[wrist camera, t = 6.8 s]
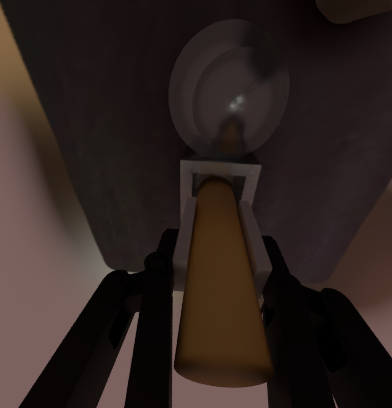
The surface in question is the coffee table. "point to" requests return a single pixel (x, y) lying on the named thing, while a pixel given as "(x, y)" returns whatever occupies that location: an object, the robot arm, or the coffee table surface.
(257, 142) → the rosette bracket
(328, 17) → the flower pot
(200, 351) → the tapered pin
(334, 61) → the coffee table surface
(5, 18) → the coffee table surface
